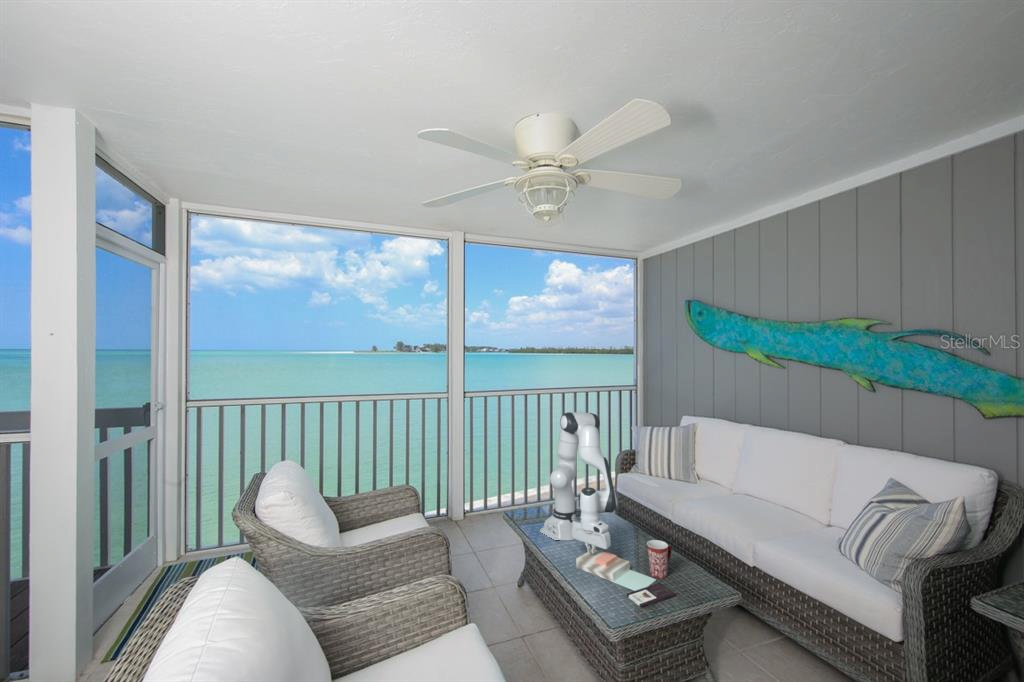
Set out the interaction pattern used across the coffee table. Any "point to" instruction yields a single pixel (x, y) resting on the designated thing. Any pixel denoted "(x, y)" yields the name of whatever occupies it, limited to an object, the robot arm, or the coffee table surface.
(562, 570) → the coffee table surface
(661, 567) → the mug
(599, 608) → the coffee table surface
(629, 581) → the mat
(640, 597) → the chocolate bar
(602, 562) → the salmon pink eraser
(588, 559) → the striped beige block
